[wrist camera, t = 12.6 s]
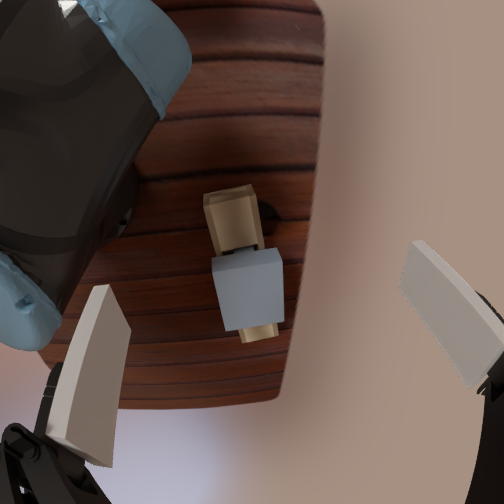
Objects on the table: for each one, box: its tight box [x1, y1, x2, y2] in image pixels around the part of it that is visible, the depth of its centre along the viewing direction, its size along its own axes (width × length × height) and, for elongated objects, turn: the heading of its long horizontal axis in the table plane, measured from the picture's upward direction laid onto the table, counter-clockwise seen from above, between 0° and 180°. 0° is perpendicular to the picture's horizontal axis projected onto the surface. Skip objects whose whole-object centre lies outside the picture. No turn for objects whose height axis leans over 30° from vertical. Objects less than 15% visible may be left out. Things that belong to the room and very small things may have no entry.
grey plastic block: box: [212, 245, 284, 331], centre depth 37 cm, size 8×10×7 cm
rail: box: [203, 184, 279, 343], centre depth 39 cm, size 6×24×4 cm, turn 10°
